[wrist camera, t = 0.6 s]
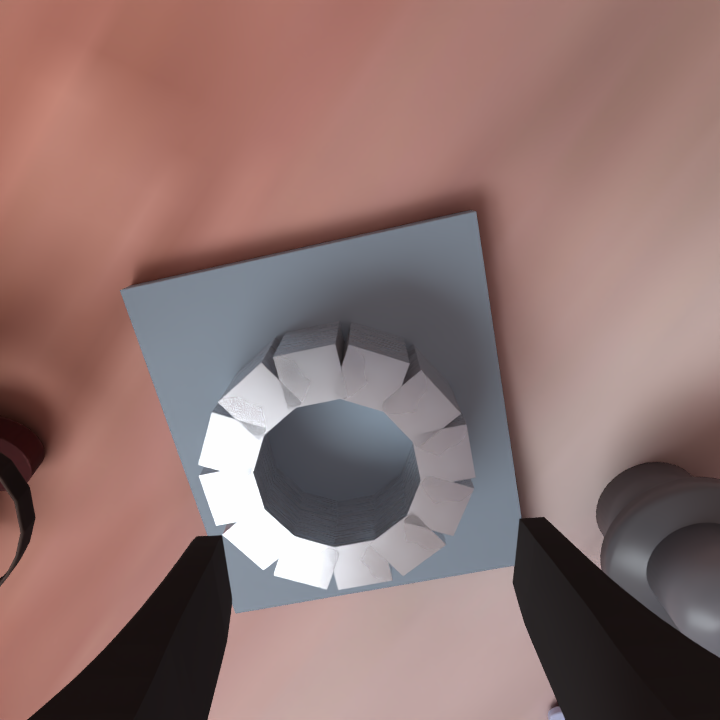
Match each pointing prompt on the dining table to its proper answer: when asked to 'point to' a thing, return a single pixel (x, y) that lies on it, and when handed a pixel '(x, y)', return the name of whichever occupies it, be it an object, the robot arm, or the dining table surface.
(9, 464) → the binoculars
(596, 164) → the dining table surface
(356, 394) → the segmented white ring
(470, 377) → the mount plate
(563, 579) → the robot arm
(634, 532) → the grey rounded knob
